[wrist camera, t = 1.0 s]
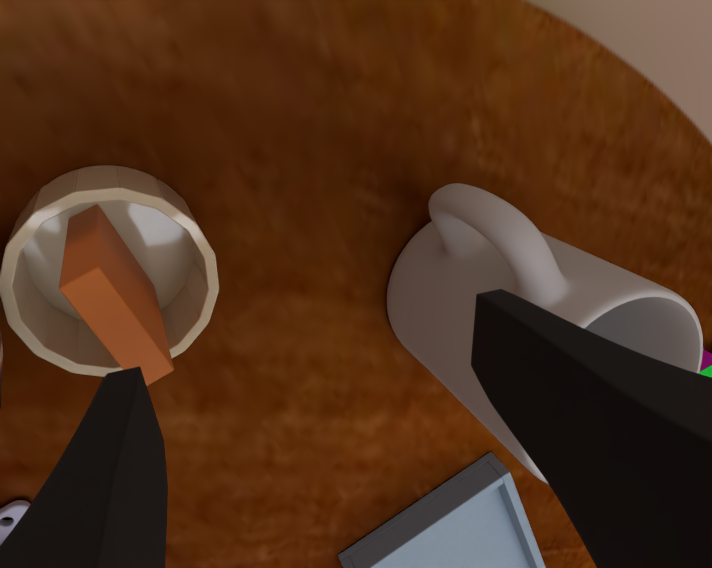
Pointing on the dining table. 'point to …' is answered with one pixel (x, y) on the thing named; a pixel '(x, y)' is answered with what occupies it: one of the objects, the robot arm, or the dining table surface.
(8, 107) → the dining table surface
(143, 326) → the orange rectangular block
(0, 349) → the alarm clock
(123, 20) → the dining table surface
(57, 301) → the cup
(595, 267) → the mug
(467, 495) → the tray
